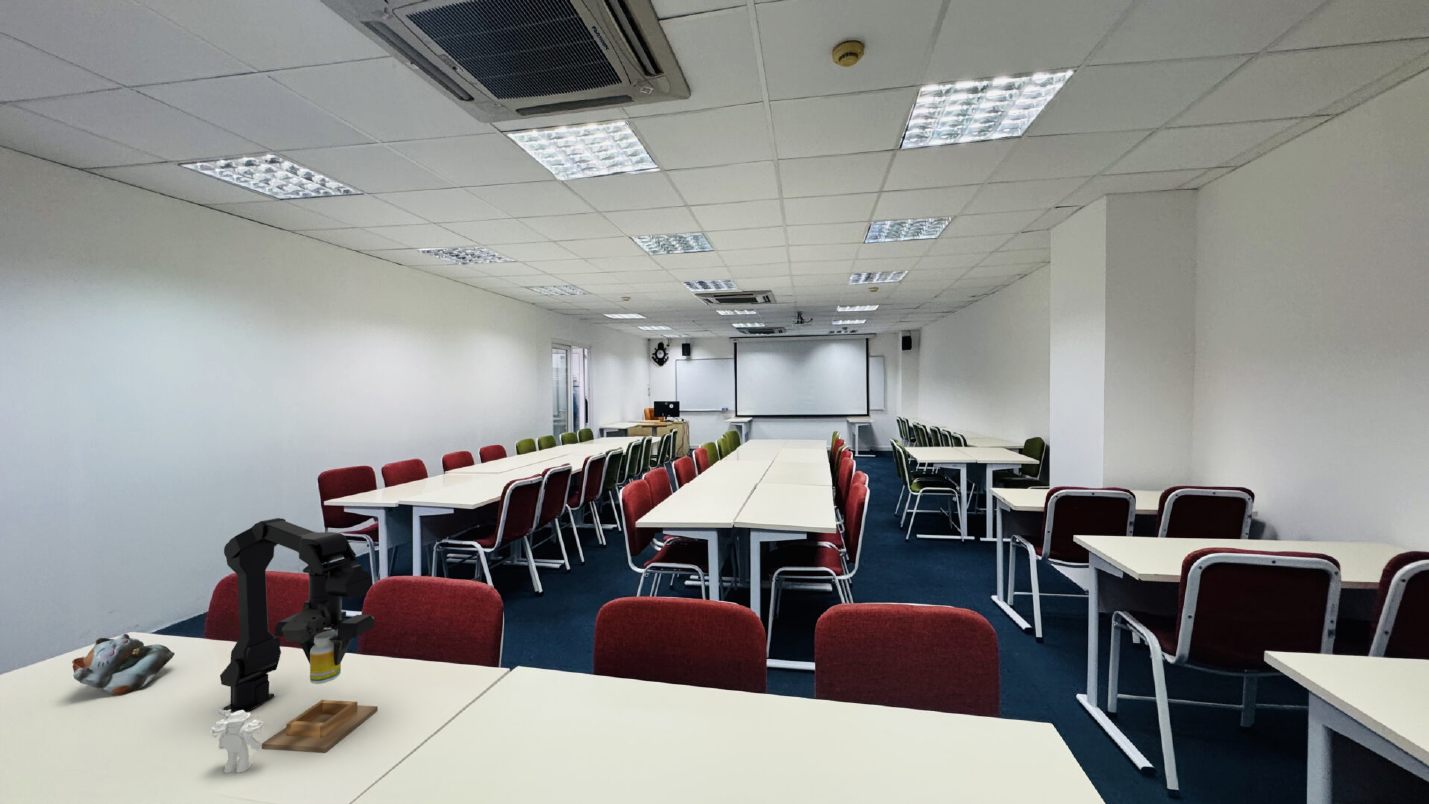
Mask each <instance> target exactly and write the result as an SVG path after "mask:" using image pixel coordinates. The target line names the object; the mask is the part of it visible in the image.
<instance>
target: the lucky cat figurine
mask: <svg viewBox="0 0 1429 804" xmlns="http://www.w3.org/2000/svg"><path fill="white" fill-rule="evenodd" d="M174 656H175V652H173V651H171V650H170V648H168V647H167V646H165V645H162V644H151V645H150V644H148V645H145V643H144V642H143V641H141V640H139V639H137V638H133V637H130V635H129V634H128V633H122V634H119V636H118V637H116V638H115V639H113V638H112V639H111V638H108V637H107V638H106V637H99V638H97V639H96V640H95V644H94V645H93V647H92V648H91V650H89V652H88V653H87V655H86V656H81V657H77V658H74V659H73V660H71V661H72V662H71V664H73V665H72V670H73V675H72V676H73V679H74V680H75V681H77V682H79V683H80V684H83V685H87V686H89V687H94V688H97V689H100V690H103V691H106V692H108V693H109V694H110V695H112V696H121V695H126V694H129V693H134V692H137V691H138V690H140V689H141V688H143V687H145V686H146V685H147V684H148V683H150V682H151V681H152V680H153V679H155V677H156V675H157V674H158V673H159V671H160V670H161V669H162V668H163V667H164V666H165V665H166V664H168V663H169V662H170V661H171V659H173V658H174Z"/></svg>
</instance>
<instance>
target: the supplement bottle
mask: <svg viewBox="0 0 1429 804" xmlns="http://www.w3.org/2000/svg"><path fill="white" fill-rule="evenodd" d="M336 635H337V630H326V631H325V630H324V631H322V632H321V633H319V634H317V635H316V636H315V637H314V644H315V645H314V646H313V647H312V648H311V650H310V663H309V682H310V683H311V684H314V685H320V684H321V685H322V684H326V683H329V682H332V681H334V680H335V679H337V678H338V677H339V676H340V675H341V673H342V672H341V669H342V667H341V666H342V662H341V663H340V664H339V665H337V666H335V663H334V644H333V643H332V642H331V641H330V640H329V639H330V638H332V637H334V636H336Z"/></svg>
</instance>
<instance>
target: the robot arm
mask: <svg viewBox="0 0 1429 804" xmlns="http://www.w3.org/2000/svg"><path fill="white" fill-rule="evenodd" d="M277 545H280V546H282V547H285V548H287V549H289V550H292V551H295V552H297V553H298V559H299V560H300V561H302V562H303V563H305V564H306V565H307V566H305V567H304V568H303V569H302V573H304V574H308V600H305V601H304V602H303V605H302V610H301V612H300V613H294V614H292V615H290V616H288V617H285V618H284V619H282V620H279V621H278V622H277V624H276V625H275V626H274V634H272V632H270V631H269V616H268V594H267V593H268V592H267V590H268V589H267V574H266V573H267V568H268V567H269V565H270V563H271V562H272V560H273V559H274V557H275V548H276V547H277ZM223 554H224V556H225V558H226V565H227V566H228V567H229V568H230V569H231V570H232V571H233V572H234V573H235V574H236V575H237V597H238V599H237V601H238V615H239V616H238V617H239V618H238V619H239V638H238V640H237V641H236V643H235V645H234V647H233V648H232V650H231V651H230V652H231V653H230V662H229V664H228V665H227V666H226V667H225V669H224V670H223V671H222V672H221V673H220V675H219V679H220V684H221V685H222V686H225V687H230V703H229V704H228V705H225V706H224V707H223V708H222V710H226V711H227V710H231V711H230V712H236V711H240V710H244V712H246V713H249V712H251V711H252V710H254V709H256V708H257V707H259V706H260V705H262V704H264V703H266V702H267V701H268V700H270V699H272V698H274V697H275V693H270V681H269V673H271V672H274V671H276V670H277V669H278V666H279V662H280V660H281V654H282V650H281V639H280V637H284V638H285V641H286V643H292V642H295V643H298V645H300V647H301V649H302V650H303V653H304V655H305V657H306V659H307V661H308V664H310V650H311V648H312V647H313V646H314V645H315V644H314V637H315V636H316V635H317V634H319V633H322V632H323V631H325V630H326V631H337V635H336V636H334V637H332V638H330V639H329V640H330V641H331V642H332V643H333V644H334V663H335V666H337V665H339V664H340V663H341V664H342V661H343V659H344V657H345V655H346V652H347V650H348V649H349V647H350V645H351V643H352V641H353V639H354V638H358V637H359V636H361V635H363V634H365V633H367V632H368V631H369V630H371V629H373V628H375V617H374V616H373V615H372V614H355V615H354V616H352V617H350V618H348V619H346V620H345V619H344V620H343V619H342V618H345V617H347V611H346V610H344V611H343V609H342V607H343V604H342V601H343V600H344V599H346V598H347V599H352V600H355V599H361V598H362V597H363V596H365V595H366V594H367V593H368V592H369V590H370V588H371V586H372V583H373V579H372V577H371V574H370V573H369V572H368V571H367V570H364V569H363V564H358V563H359V561H358V558H357V554H356V553H355V551H354V549H353V548H352V547H351V545H350V543H349V541H348V538H347V537H346V536H345V535H344V534H343V533H341V532H332V531H325V532H317V531H313V530H310V529H307V528H305V527H302V526H300V525H296V524H294V523H292V522H288V521H286V519H285V518H282V517H281V518H280V517H276V518H271V519H265V520H260V521H258V522H257V523H255V524H253V526H251V527H250V528H248V529H245V530H244V531H242V532H239V534H237V535H235V536H234V537H231V539H230V540H229V541H228V542H226V544H225V545H224V549H223Z"/></svg>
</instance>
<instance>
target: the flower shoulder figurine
mask: <svg viewBox="0 0 1429 804" xmlns="http://www.w3.org/2000/svg"><path fill="white" fill-rule="evenodd" d="M217 712H218V714H220V716H223V715H224V716H225V717H222V719H221V720H219V721H216V722H215V725H214V726H212V727H211V729H210V730H211V736H212V737H213V738H217V737H218V736H219V735H220V736H219V738H218V749H219V750H225V751H227V761H226V763H225V767H224V770H223V772H224V773H225V774H229V773H232V772H234V771H236V773H243V772H245V771H247V770H249V769H250V768H251V767H252V766H253V761H252V760H250V759H249V758H250V755H249V747H248V745H249V746H250V747H251V748H252V749H254V750H255V751H257V752H258V750H260V749H262V743H263V742H262V741H259V740H257V739H256V738H255V737H254V736H253V733H256V734H261V733H263V731H264V727H265V725H264V724H265V722H264V721H261V720H258V719H259V717H257V719H253V720H252V721H250V716H251V714H252V713H251V712H244V710H240V711H233V713H232V711H231V710H227V711H226V710H223V708H221V709H218V710H217ZM226 717H228V718H227V719H226ZM238 758H239V759H238Z"/></svg>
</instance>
